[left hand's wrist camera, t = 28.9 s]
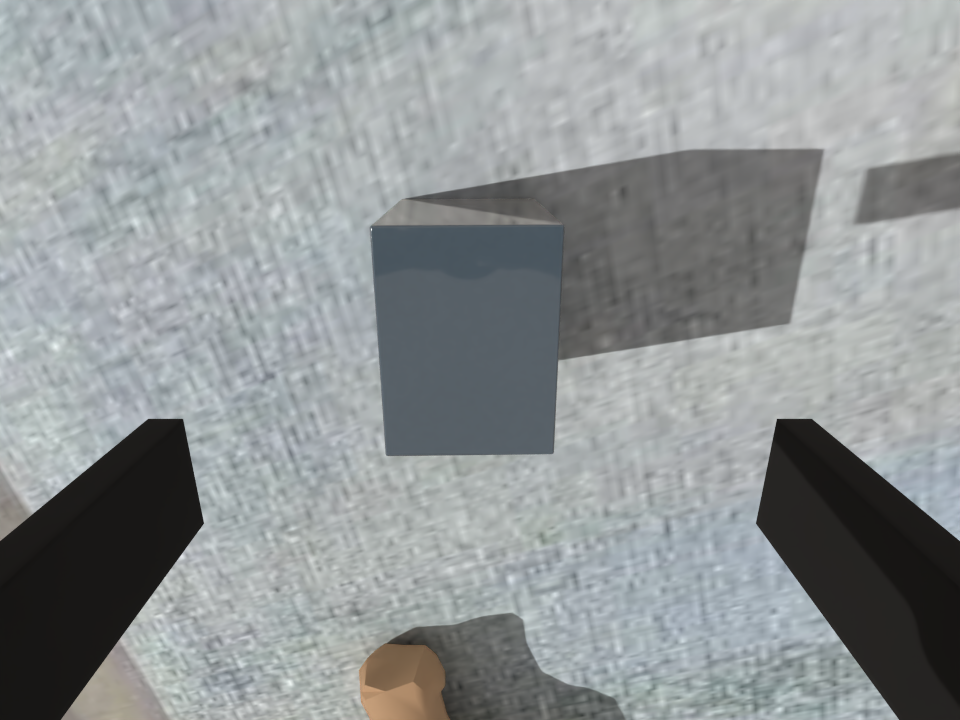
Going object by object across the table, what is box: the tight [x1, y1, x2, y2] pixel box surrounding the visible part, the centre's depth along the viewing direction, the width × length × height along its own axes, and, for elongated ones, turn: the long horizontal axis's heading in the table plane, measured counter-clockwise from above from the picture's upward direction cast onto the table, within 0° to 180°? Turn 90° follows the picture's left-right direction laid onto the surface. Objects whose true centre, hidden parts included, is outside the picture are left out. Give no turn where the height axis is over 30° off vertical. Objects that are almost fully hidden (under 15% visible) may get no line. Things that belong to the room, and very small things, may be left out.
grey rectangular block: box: [370, 198, 565, 456], centre depth 26 cm, size 7×9×10 cm
